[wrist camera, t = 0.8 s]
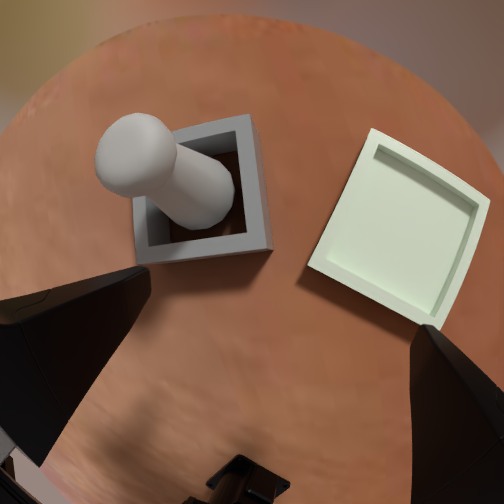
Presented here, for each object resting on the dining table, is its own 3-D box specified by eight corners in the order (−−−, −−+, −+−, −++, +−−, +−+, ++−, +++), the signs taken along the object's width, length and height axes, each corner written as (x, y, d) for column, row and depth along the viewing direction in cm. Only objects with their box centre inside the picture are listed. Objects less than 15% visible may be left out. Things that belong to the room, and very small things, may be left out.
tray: (429, 329, 21) (437, 334, 19) (307, 264, 23) (307, 265, 22) (480, 204, 21) (490, 200, 19) (367, 136, 23) (371, 127, 21)
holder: (273, 250, 24) (266, 248, 20) (160, 264, 26) (136, 264, 22) (258, 134, 24) (249, 113, 21) (154, 157, 26) (131, 143, 22)
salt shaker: (214, 246, 25) (123, 233, 12) (165, 209, 26) (60, 173, 13) (254, 188, 24) (199, 119, 12) (202, 154, 25) (121, 80, 13)
